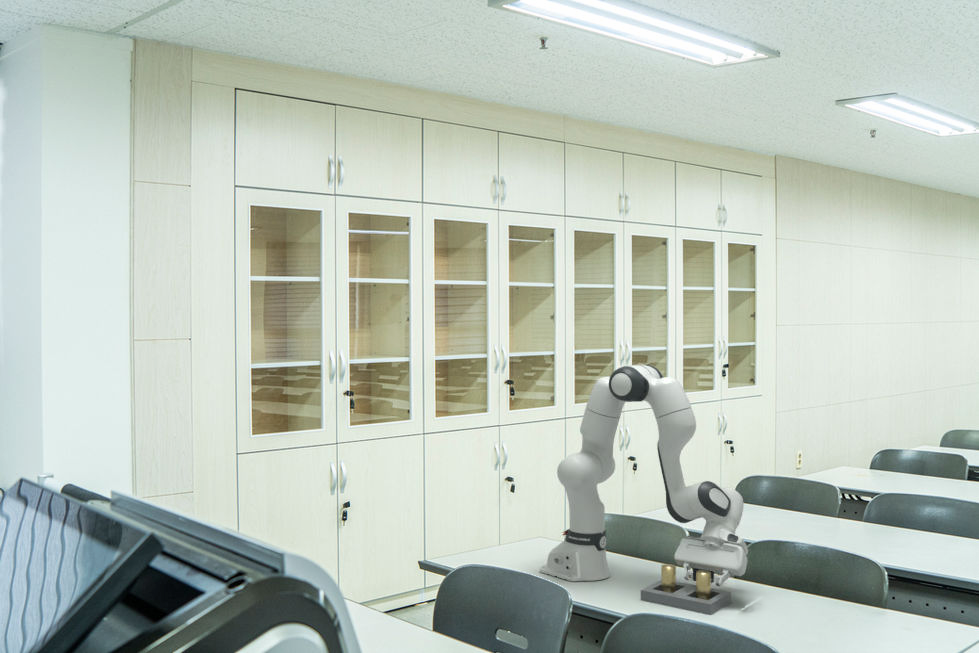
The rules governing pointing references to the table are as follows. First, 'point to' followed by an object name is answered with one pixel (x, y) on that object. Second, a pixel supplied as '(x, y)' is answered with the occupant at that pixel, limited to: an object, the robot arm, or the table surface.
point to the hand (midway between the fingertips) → (702, 582)
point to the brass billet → (703, 584)
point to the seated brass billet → (668, 578)
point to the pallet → (686, 598)
